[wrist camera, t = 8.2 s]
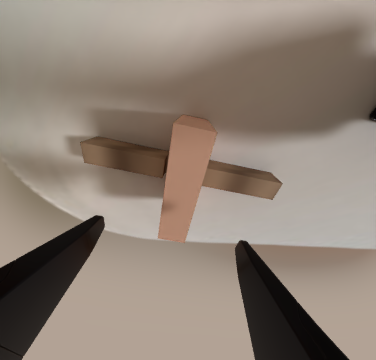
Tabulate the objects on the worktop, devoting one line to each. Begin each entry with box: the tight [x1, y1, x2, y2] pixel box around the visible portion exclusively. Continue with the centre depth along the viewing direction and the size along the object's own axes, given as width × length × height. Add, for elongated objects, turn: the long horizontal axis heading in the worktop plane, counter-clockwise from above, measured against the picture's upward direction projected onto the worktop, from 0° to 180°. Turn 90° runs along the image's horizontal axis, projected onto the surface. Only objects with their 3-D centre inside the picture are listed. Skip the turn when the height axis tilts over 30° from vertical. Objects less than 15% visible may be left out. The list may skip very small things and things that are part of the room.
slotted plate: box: [158, 115, 217, 243], centre depth 15 cm, size 3×12×8 cm, turn 169°
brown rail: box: [80, 137, 282, 200], centre depth 18 cm, size 24×2×3 cm, turn 79°
